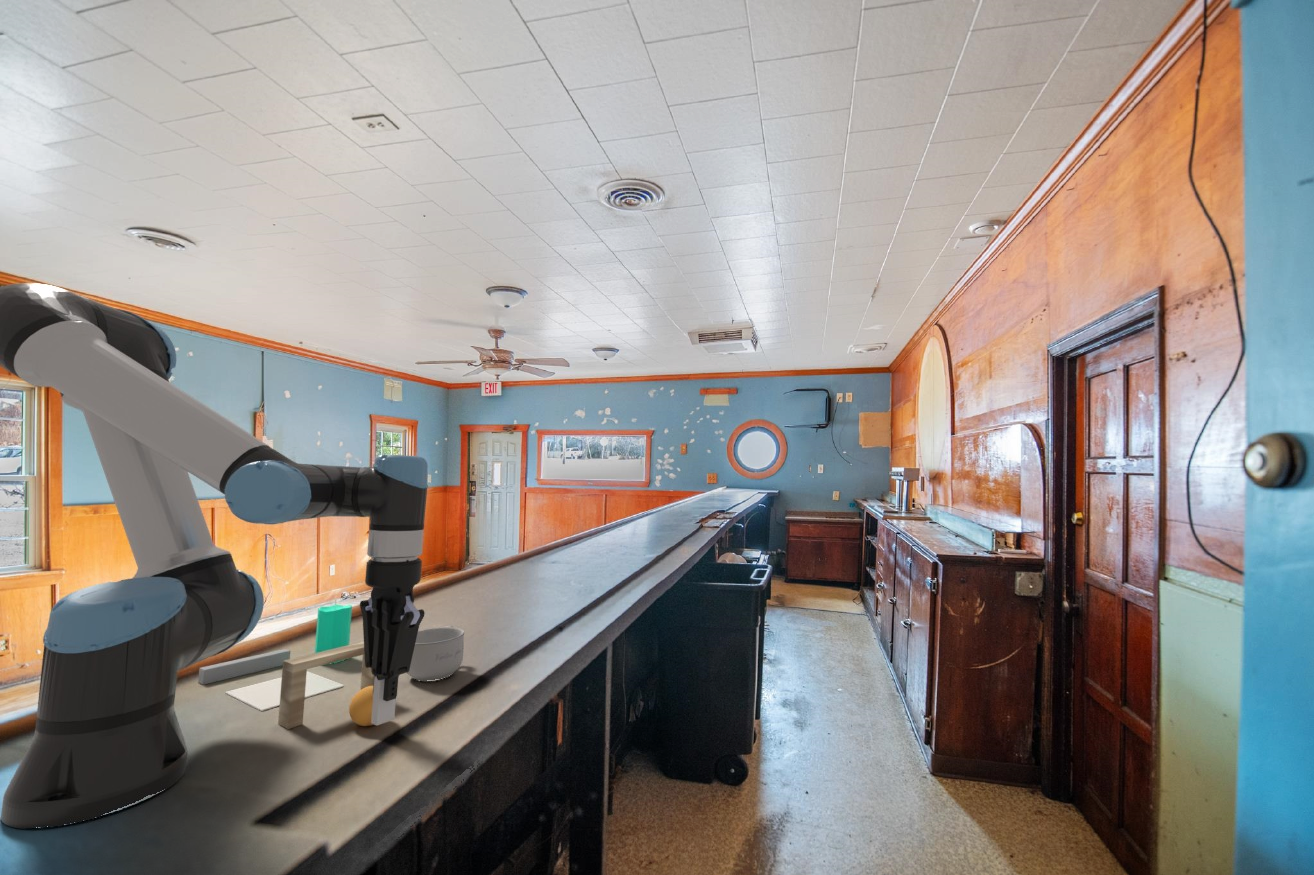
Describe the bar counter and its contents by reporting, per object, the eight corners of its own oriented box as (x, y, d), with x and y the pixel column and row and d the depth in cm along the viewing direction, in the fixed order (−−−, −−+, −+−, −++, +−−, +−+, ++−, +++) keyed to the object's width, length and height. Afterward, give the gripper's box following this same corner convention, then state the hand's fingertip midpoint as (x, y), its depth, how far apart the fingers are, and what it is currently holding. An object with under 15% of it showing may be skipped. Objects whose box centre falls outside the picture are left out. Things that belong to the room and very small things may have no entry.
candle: (354, 658, 112) (358, 599, 113) (323, 666, 107) (328, 604, 108) (338, 653, 116) (342, 595, 117) (308, 660, 110) (312, 600, 112)
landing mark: (261, 711, 86) (261, 710, 86) (225, 693, 93) (225, 692, 93) (344, 686, 97) (344, 685, 97) (306, 671, 104) (306, 670, 104)
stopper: (202, 684, 96) (204, 670, 97) (198, 682, 98) (199, 667, 98) (289, 663, 108) (290, 650, 109) (284, 661, 109) (285, 648, 110)
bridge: (381, 697, 93) (385, 642, 94) (288, 729, 80) (293, 664, 81) (371, 693, 94) (374, 639, 95) (278, 724, 82) (283, 660, 83)
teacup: (441, 689, 97) (443, 643, 98) (387, 684, 99) (390, 638, 100) (481, 665, 111) (483, 624, 111) (433, 660, 113) (435, 620, 113)
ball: (358, 687, 80) (339, 695, 83) (363, 727, 78) (344, 734, 81) (394, 678, 85) (375, 686, 87) (400, 715, 83) (380, 722, 85)
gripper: (444, 559, 82) (432, 724, 80) (393, 551, 89) (381, 702, 87) (397, 565, 76) (383, 743, 74) (346, 555, 83) (332, 718, 81)
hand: (382, 721), depth 80 cm, fingers closed
